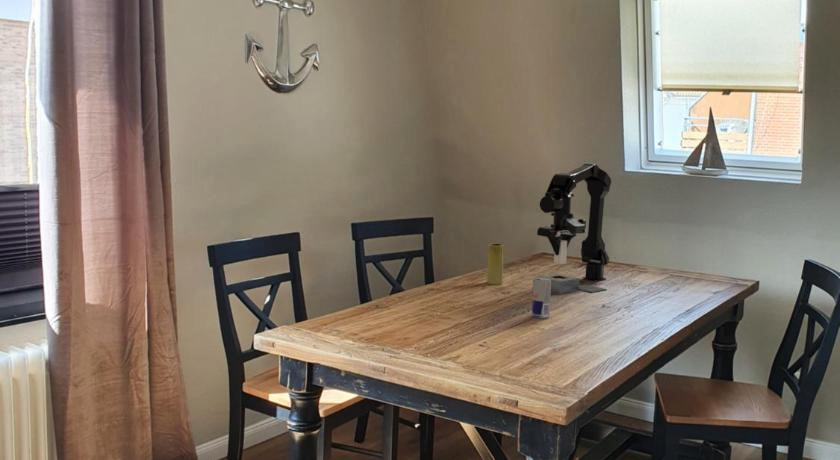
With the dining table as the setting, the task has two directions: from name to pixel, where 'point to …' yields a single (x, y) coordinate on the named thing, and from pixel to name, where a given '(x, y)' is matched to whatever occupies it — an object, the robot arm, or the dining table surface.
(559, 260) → the cream rectangular prism
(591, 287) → the mat
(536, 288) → the energy drink
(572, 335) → the dining table surface
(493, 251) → the vase
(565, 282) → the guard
